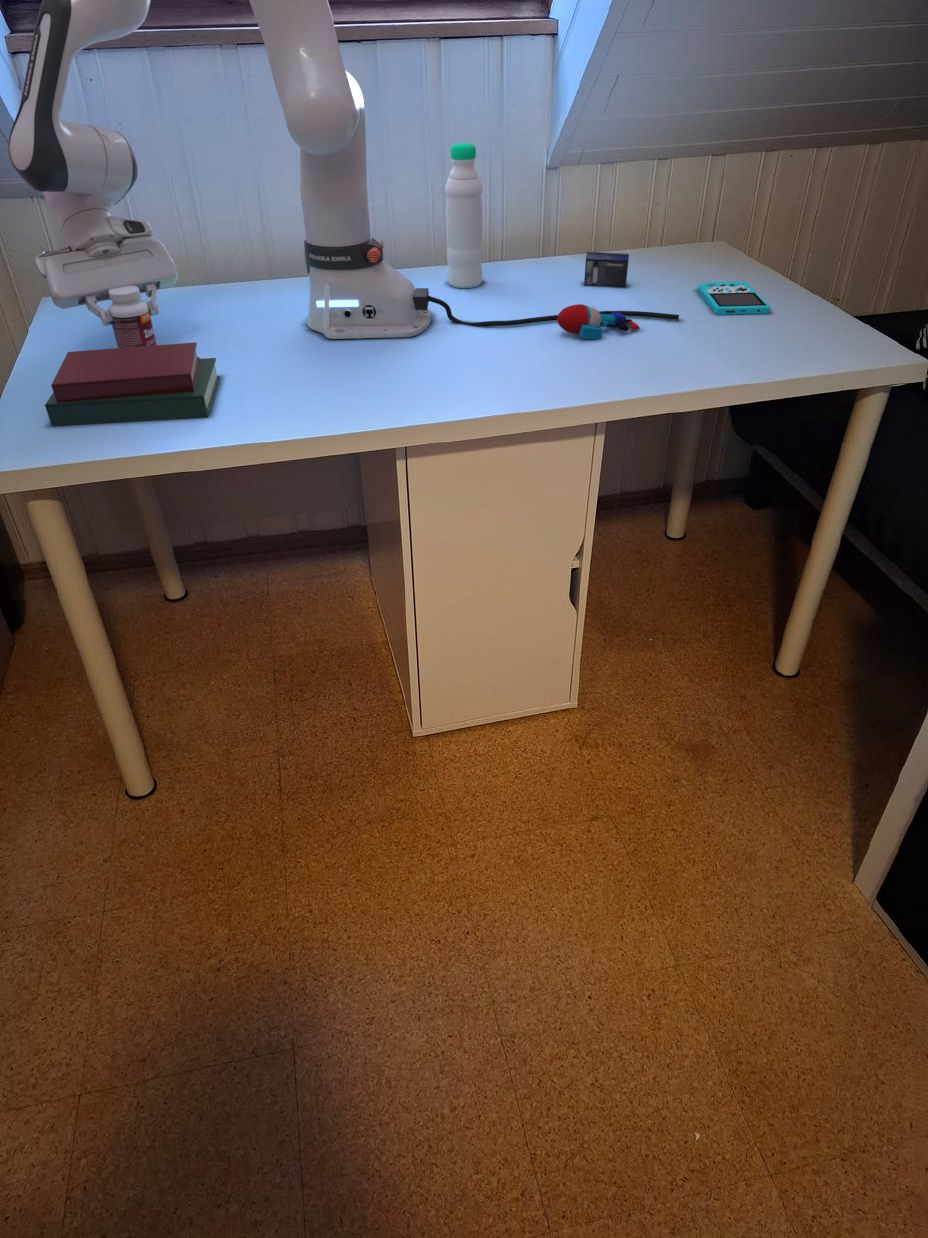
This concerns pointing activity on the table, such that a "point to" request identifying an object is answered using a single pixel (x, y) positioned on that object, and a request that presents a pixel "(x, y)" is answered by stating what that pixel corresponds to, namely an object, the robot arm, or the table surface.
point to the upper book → (126, 372)
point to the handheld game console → (732, 298)
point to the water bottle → (464, 219)
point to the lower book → (140, 404)
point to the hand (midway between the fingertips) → (132, 318)
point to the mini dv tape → (606, 269)
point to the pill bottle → (130, 318)
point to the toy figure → (591, 321)
